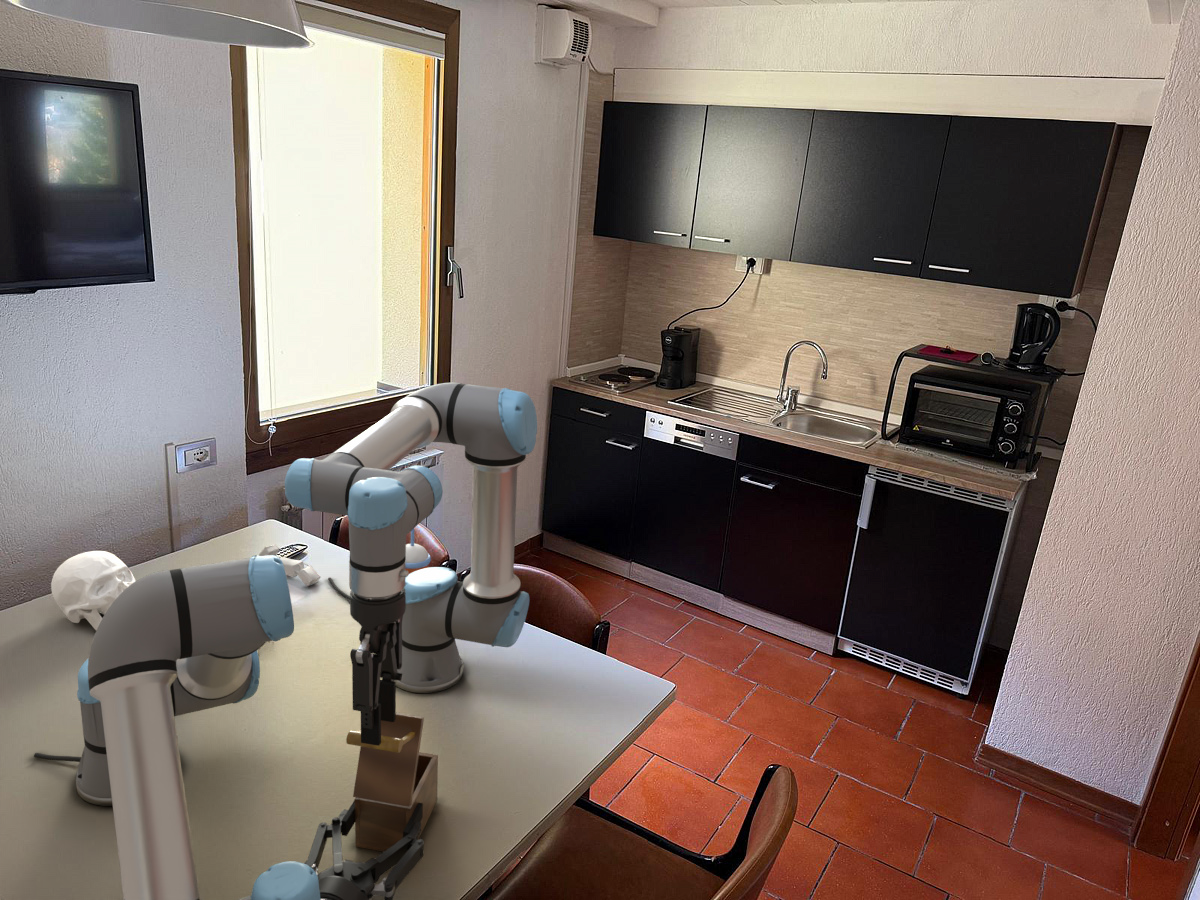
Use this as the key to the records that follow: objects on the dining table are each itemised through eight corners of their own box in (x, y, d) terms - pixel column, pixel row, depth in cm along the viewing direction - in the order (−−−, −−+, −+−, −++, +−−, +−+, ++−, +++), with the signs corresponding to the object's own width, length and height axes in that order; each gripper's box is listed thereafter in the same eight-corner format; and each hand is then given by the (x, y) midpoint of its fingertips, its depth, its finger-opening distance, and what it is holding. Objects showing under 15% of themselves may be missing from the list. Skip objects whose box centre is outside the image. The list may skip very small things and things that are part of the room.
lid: (368, 707, 133) (345, 720, 124) (424, 717, 132) (404, 730, 123) (355, 794, 132) (331, 813, 123) (411, 804, 131) (391, 824, 122)
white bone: (253, 565, 223) (254, 542, 221) (265, 560, 226) (266, 537, 224) (309, 593, 215) (310, 569, 213) (320, 588, 218) (321, 564, 216)
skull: (118, 643, 184) (114, 575, 180) (38, 622, 190) (32, 556, 185) (165, 617, 196) (162, 554, 192) (89, 598, 202) (84, 536, 198)
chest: (386, 791, 147) (386, 746, 144) (437, 799, 146) (438, 755, 142) (355, 846, 135) (354, 798, 132) (410, 856, 134) (410, 808, 131)
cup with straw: (421, 606, 210) (422, 538, 205) (387, 600, 212) (387, 533, 206) (435, 590, 219) (437, 525, 213) (402, 584, 220) (403, 520, 215)
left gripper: (251, 925, 116) (326, 812, 138) (404, 955, 114) (456, 836, 135) (249, 881, 114) (325, 773, 136) (404, 911, 112) (457, 796, 133)
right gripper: (378, 623, 110) (378, 774, 117) (426, 565, 127) (424, 699, 134) (322, 615, 110) (327, 765, 118) (377, 558, 127) (378, 692, 135)
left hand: (390, 804), depth 135 cm, fingers closed on chest, 9 cm apart
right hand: (378, 730), depth 126 cm, fingers open, 5 cm apart
